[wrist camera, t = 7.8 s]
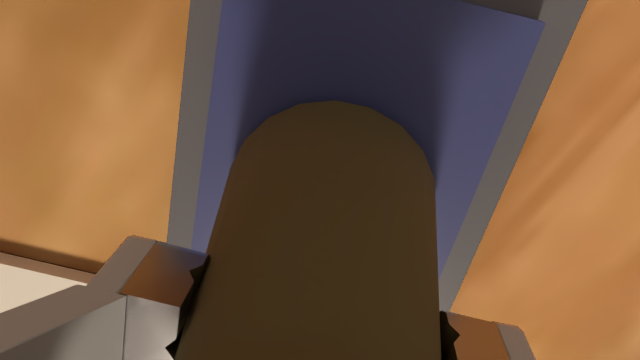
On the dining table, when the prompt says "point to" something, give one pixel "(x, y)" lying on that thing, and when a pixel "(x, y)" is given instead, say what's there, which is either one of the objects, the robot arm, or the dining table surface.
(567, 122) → the dining table surface
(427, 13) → the ink pad
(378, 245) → the cork
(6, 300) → the print card
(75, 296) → the robot arm
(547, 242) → the dining table surface
